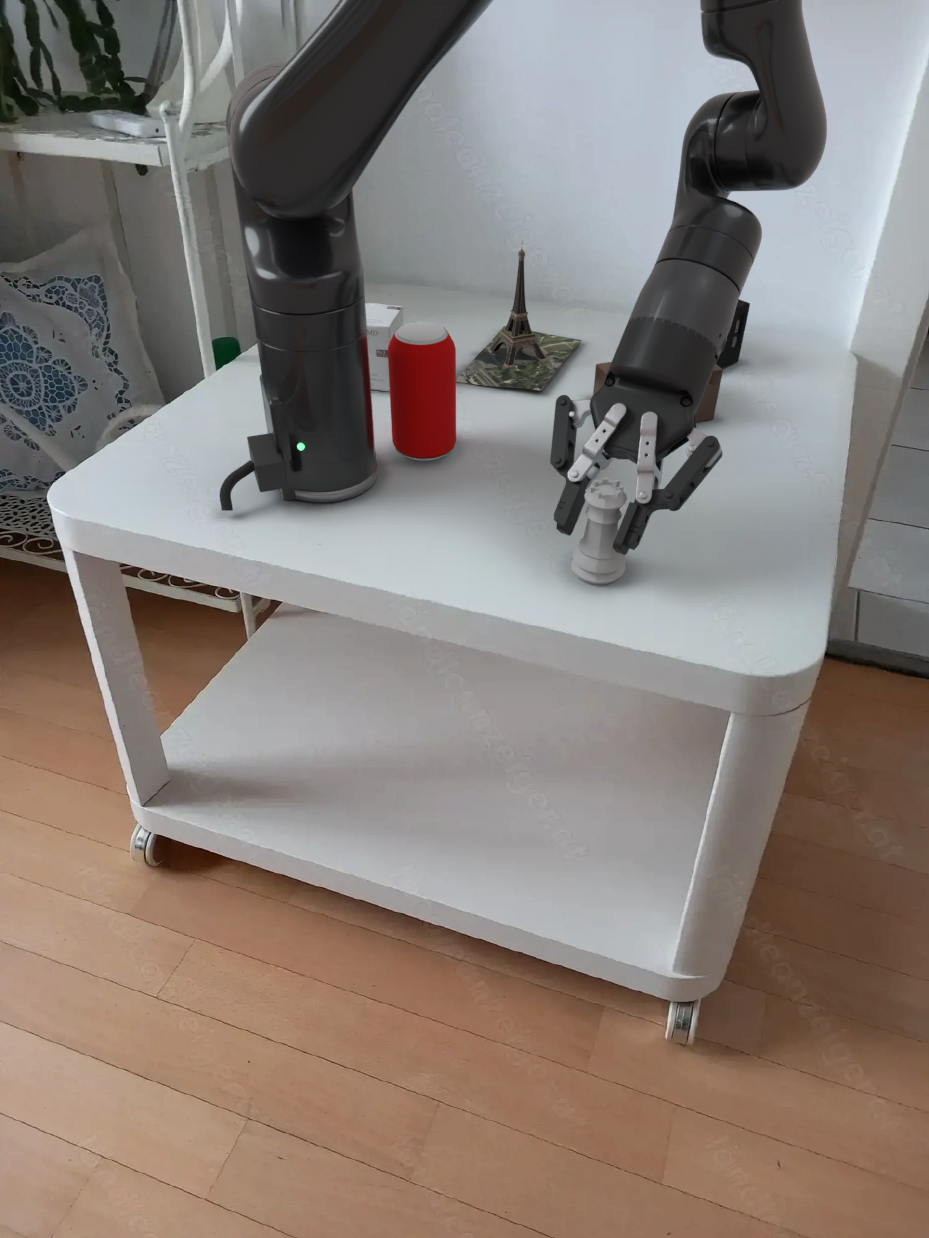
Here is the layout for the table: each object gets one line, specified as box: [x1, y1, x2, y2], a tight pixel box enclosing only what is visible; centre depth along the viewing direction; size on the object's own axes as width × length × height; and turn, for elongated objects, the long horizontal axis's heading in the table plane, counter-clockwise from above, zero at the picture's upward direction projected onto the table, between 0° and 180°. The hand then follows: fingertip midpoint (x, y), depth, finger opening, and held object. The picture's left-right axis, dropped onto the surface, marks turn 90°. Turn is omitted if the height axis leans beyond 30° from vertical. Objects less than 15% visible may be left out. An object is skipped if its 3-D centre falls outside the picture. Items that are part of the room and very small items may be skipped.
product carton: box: [365, 302, 404, 392], centre depth 101 cm, size 6×6×7 cm
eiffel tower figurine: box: [456, 239, 583, 391], centre depth 102 cm, size 15×10×13 cm
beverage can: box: [388, 321, 457, 462], centre depth 87 cm, size 6×6×12 cm
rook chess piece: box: [570, 477, 628, 586], centre depth 74 cm, size 4×4×8 cm
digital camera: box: [716, 299, 751, 370], centre depth 106 cm, size 10×5×7 cm, turn 42°
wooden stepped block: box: [592, 361, 724, 423], centre depth 96 cm, size 10×8×6 cm
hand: (591, 541), depth 72 cm, fingers open, 4 cm apart
